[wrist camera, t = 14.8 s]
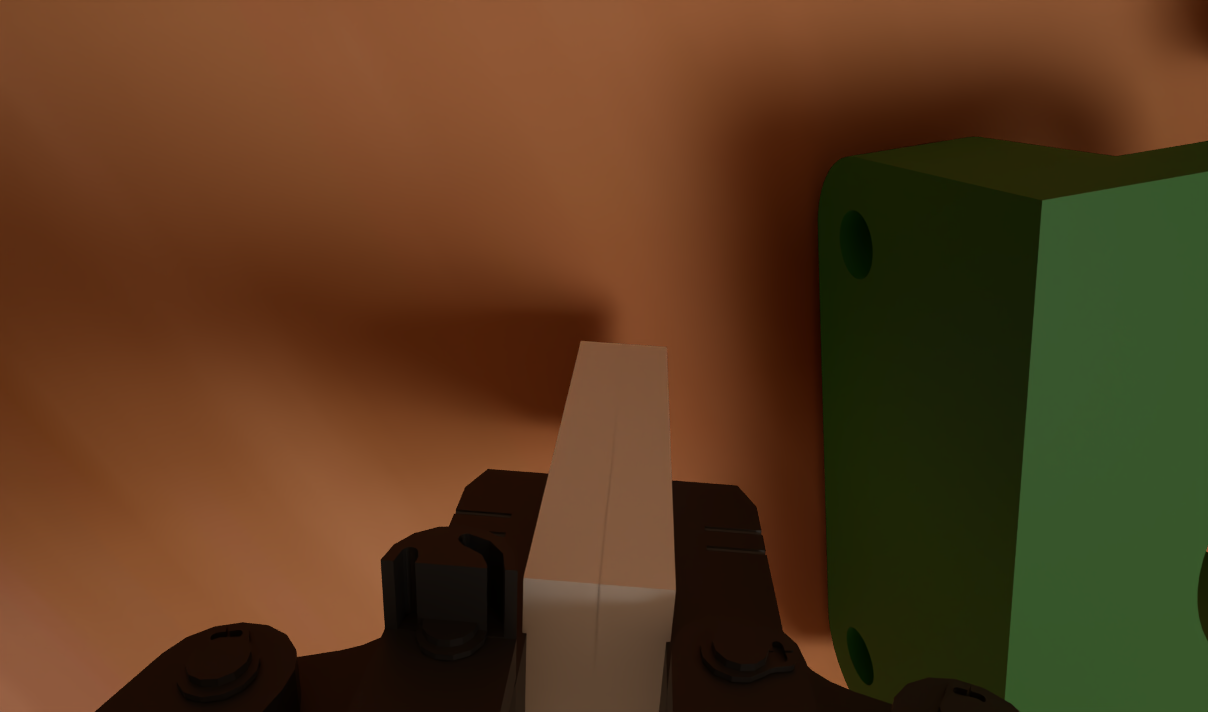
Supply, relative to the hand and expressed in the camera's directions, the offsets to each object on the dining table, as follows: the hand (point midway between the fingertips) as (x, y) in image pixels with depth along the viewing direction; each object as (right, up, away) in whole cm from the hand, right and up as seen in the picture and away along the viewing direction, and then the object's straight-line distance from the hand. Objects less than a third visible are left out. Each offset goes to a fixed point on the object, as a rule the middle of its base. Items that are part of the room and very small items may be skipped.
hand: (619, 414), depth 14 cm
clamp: (+8, 0, +2) cm, 8 cm away
